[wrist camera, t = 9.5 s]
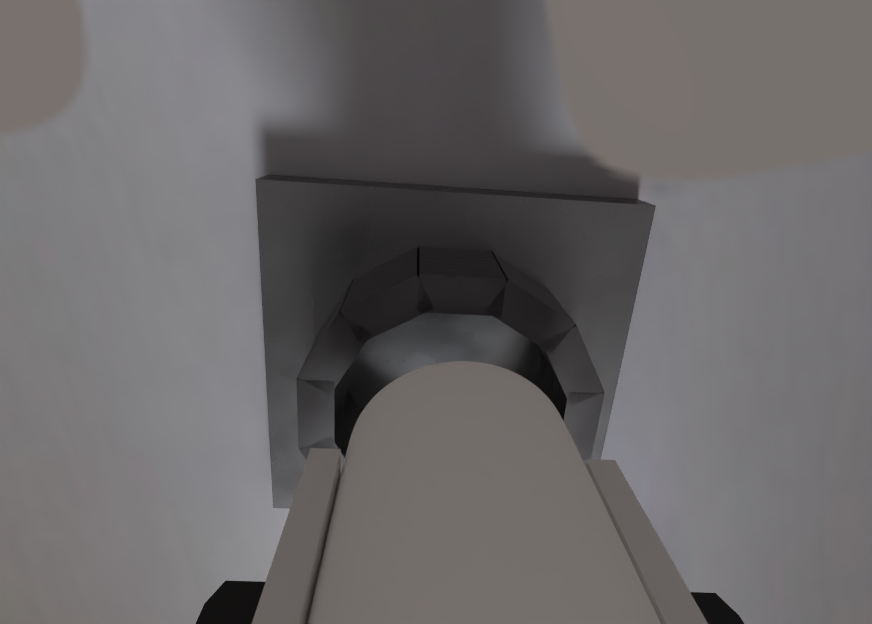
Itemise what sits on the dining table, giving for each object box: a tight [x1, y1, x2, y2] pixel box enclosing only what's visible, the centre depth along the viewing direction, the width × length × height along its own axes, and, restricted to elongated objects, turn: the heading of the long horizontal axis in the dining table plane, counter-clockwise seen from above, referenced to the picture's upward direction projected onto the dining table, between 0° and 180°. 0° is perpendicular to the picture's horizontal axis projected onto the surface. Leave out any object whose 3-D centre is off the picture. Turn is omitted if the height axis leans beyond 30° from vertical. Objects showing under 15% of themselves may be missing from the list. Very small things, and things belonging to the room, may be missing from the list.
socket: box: [256, 175, 656, 508], centre depth 19 cm, size 14×14×5 cm
